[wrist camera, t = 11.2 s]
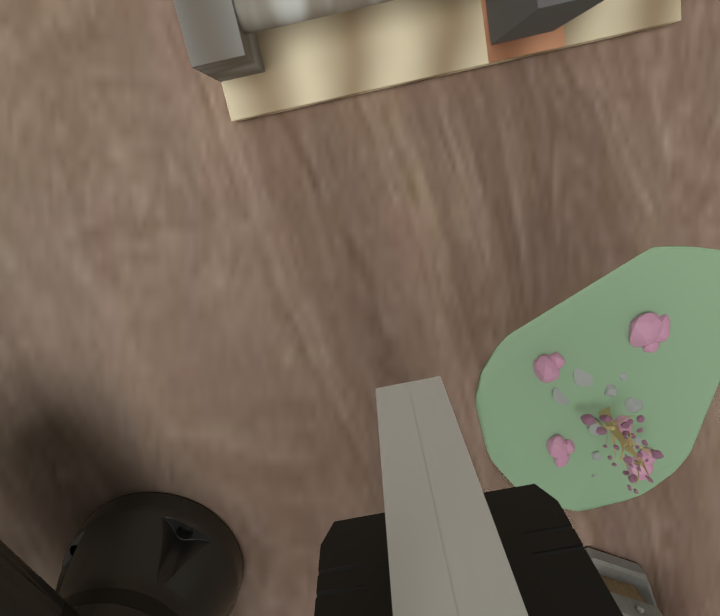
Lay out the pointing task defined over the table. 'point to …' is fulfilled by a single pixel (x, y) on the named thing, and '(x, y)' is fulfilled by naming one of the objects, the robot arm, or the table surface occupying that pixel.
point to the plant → (608, 381)
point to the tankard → (625, 584)
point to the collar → (531, 16)
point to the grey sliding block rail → (369, 44)
